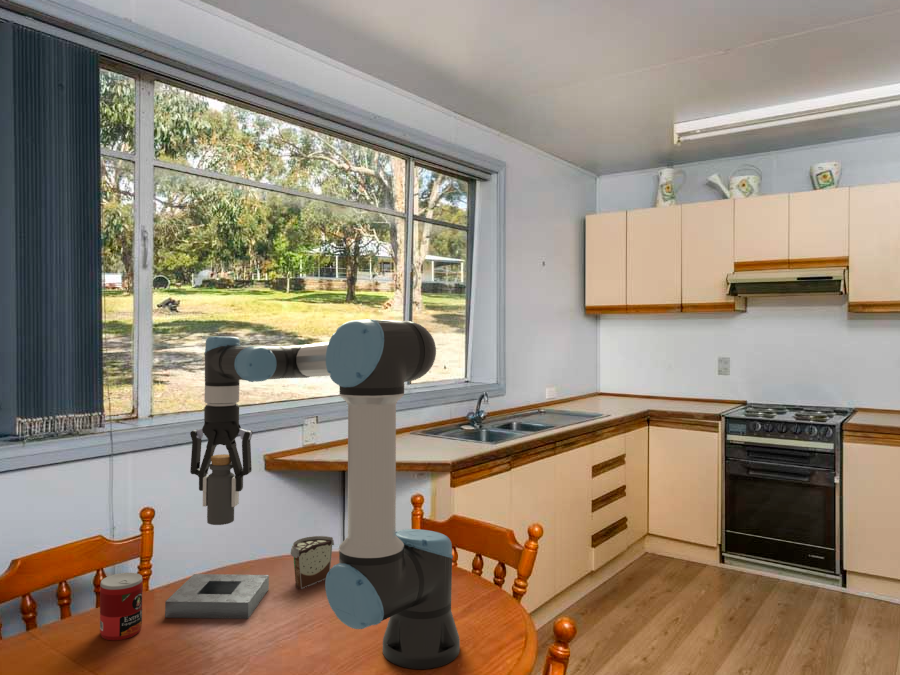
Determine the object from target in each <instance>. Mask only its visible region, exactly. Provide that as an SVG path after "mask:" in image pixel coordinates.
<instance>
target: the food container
mask: <svg viewBox="0 0 900 675" xmlns="http://www.w3.org/2000/svg"><path fill="white" fill-rule="evenodd" d="M333 546H335V542H334V537H332V536H325V535H315V536H314V535H313V536H306V537H302V538H299V539H297V540H295V541H294V542H293V543H292V545H291V549H290V555H291V556H292V557H293V566H294V568H293V569H294V580H295V586H296V588H298V589H299V588H300V590H303V589H305V587H306V588H307V586H308V587H310V586H313V585H315V584H317V582H318V583H321V582H322V580H323V581H325V580H326V576H327V573H328V572H329V571H330V569H331V566H332V565H331V563H332V554H333V553H332V552H333Z"/></svg>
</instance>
